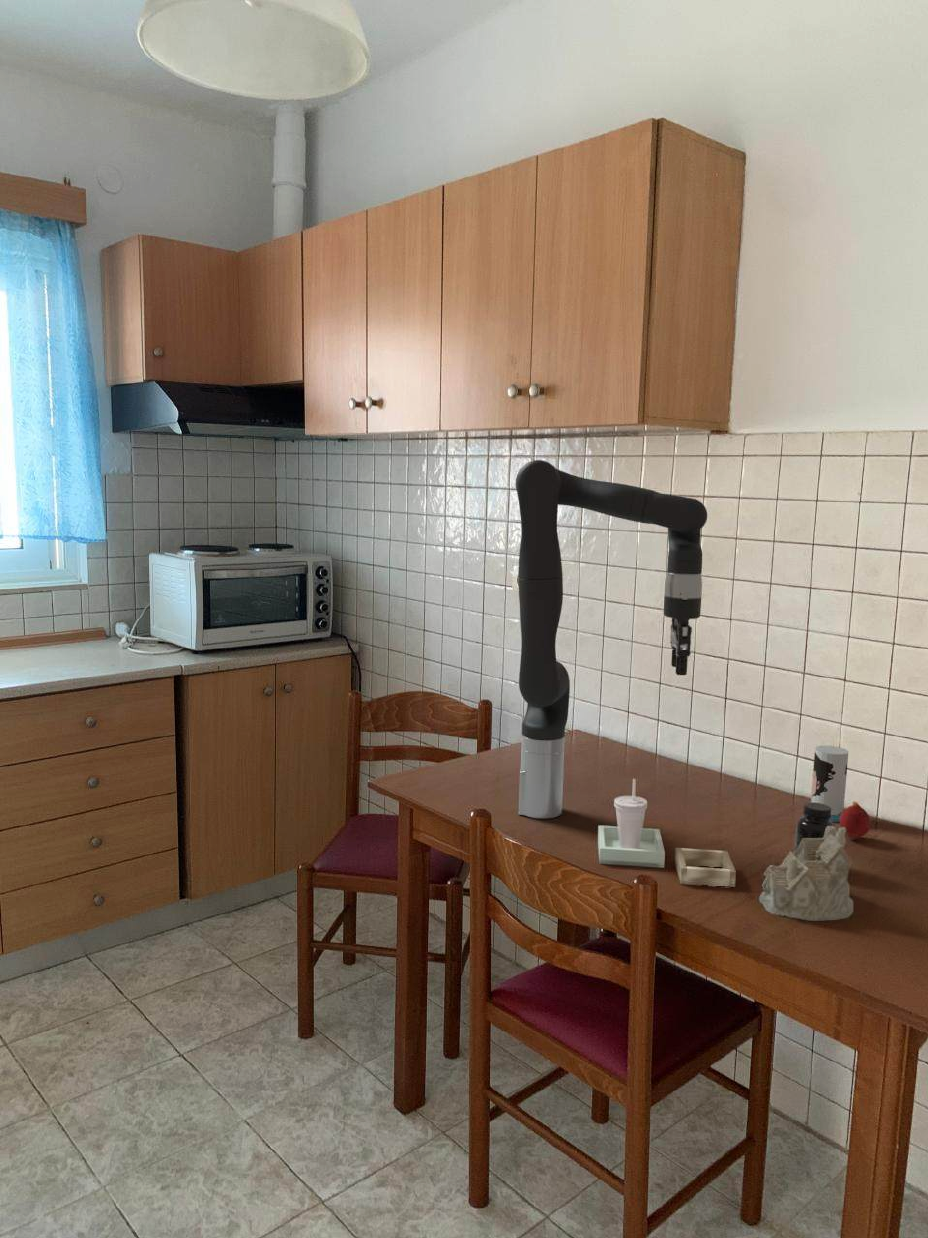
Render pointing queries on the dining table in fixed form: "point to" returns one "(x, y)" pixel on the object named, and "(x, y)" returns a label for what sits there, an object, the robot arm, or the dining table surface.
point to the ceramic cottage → (811, 880)
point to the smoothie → (630, 819)
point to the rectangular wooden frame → (704, 874)
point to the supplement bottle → (813, 822)
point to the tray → (645, 856)
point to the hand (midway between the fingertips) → (678, 670)
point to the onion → (855, 821)
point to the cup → (830, 778)
